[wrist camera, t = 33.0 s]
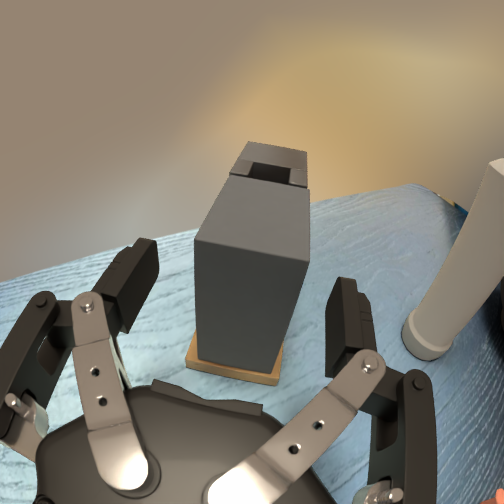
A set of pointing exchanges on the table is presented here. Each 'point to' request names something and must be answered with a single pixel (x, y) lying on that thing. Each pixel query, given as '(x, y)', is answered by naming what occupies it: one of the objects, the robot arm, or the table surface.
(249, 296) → the grey rectangular block
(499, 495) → the teapot
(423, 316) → the bottle
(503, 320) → the vase
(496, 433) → the table surface
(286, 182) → the stand
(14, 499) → the table surface
